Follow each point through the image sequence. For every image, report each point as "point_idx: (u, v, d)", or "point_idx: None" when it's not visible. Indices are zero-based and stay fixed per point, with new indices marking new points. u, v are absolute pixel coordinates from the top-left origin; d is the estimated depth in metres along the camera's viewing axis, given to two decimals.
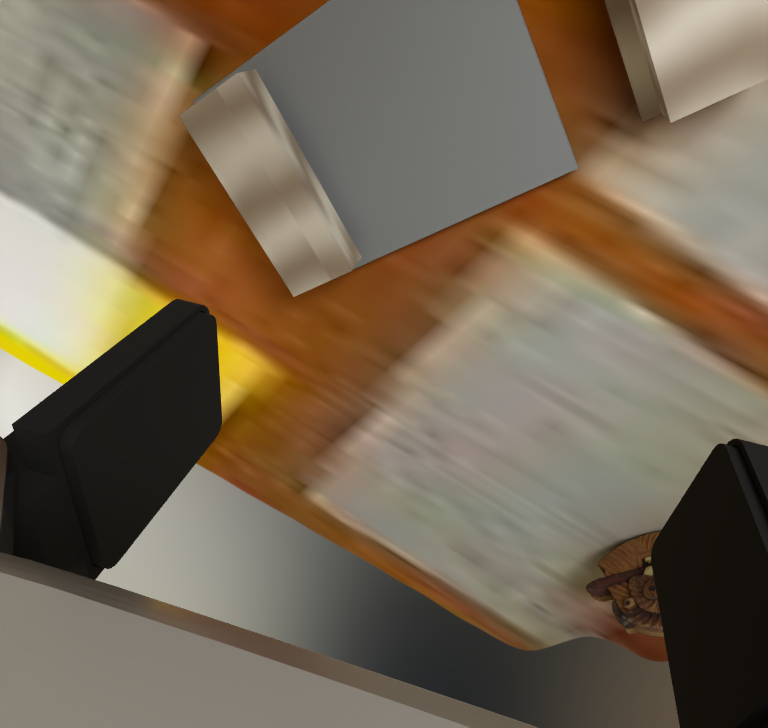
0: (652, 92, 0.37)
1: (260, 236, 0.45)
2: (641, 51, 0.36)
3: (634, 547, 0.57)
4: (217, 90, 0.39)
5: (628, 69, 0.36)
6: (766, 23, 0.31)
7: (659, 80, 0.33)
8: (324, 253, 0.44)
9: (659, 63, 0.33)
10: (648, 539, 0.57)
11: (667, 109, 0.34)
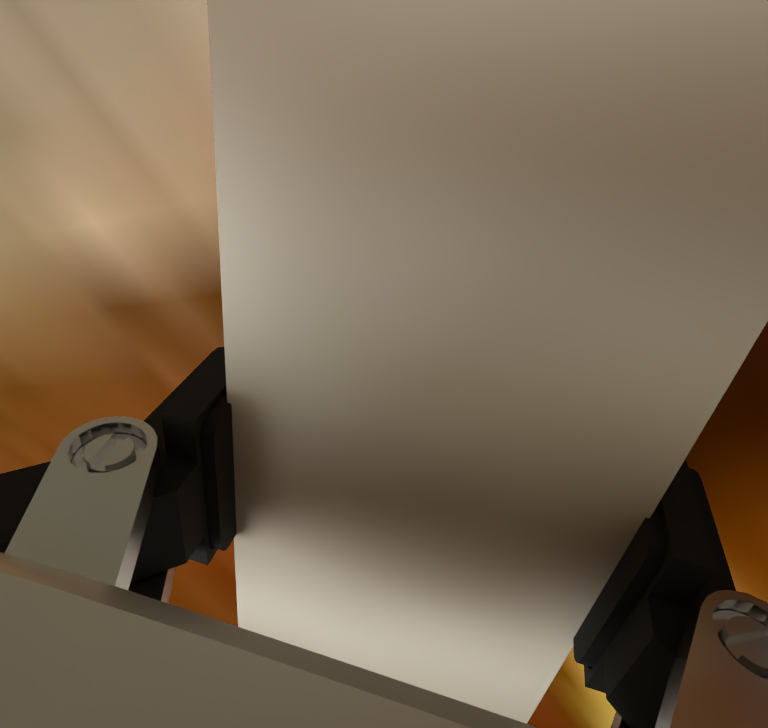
0: None
1: None
2: None
3: None
4: None
5: None
6: (241, 159, 0.06)
7: None
8: None
9: (731, 325, 0.06)
10: None
11: None
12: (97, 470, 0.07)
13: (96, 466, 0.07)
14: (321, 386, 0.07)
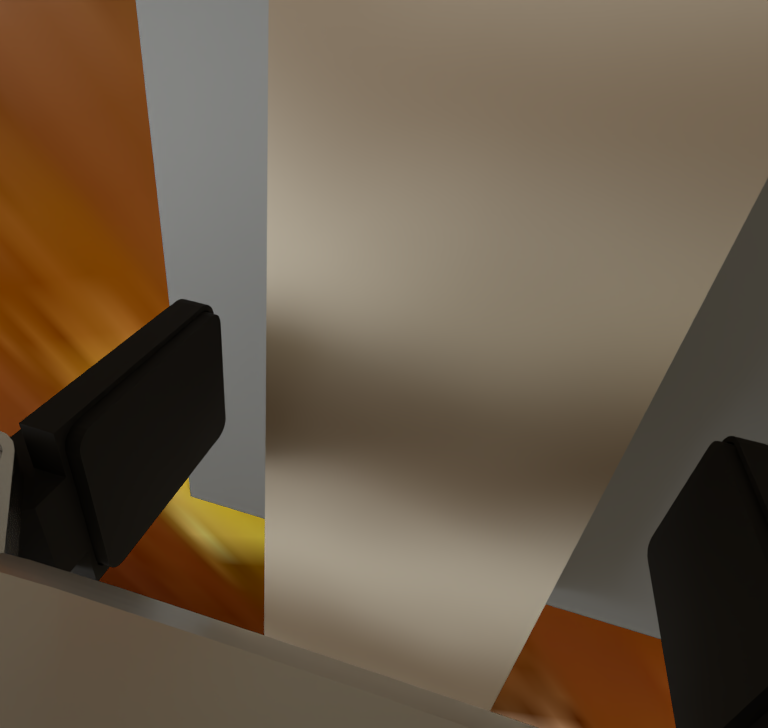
0: None
1: None
2: None
3: None
4: None
5: None
6: (290, 128, 0.07)
7: (750, 198, 0.06)
8: None
9: (695, 266, 0.07)
10: None
11: None
12: None
13: None
14: (350, 328, 0.09)
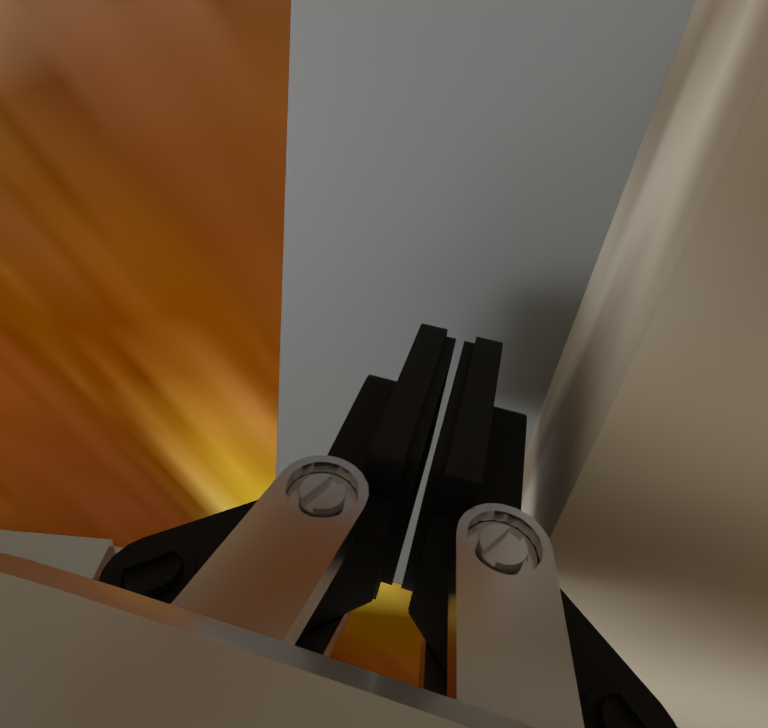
0: None
1: None
2: None
3: None
4: None
5: None
6: (722, 243, 0.06)
7: None
8: None
9: None
10: None
11: None
12: (305, 509, 0.07)
13: (306, 504, 0.07)
14: (708, 457, 0.07)
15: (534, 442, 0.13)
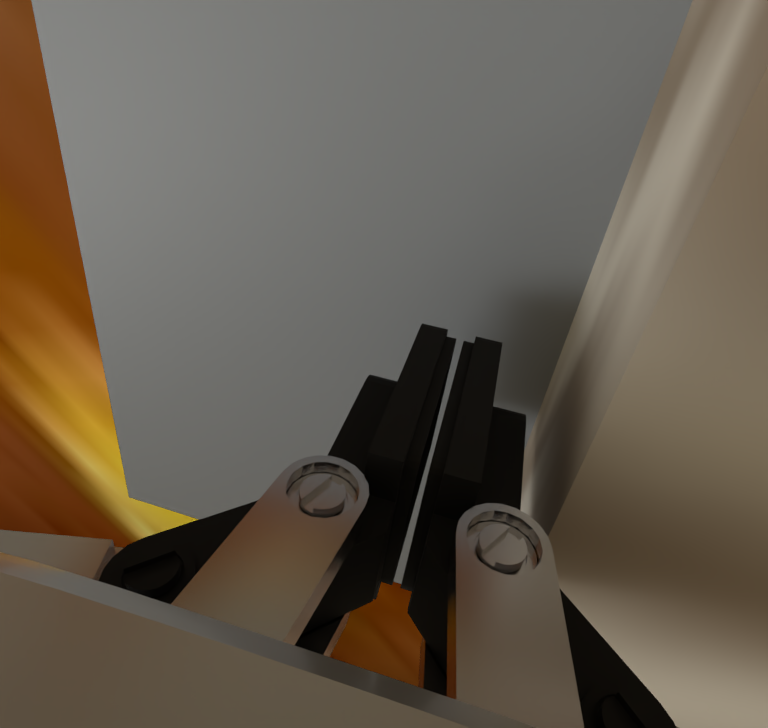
0: None
1: None
2: None
3: None
4: None
5: None
6: (720, 241, 0.06)
7: None
8: None
9: None
10: None
11: None
12: (305, 508, 0.07)
13: (306, 503, 0.07)
14: (707, 457, 0.07)
15: (533, 441, 0.13)
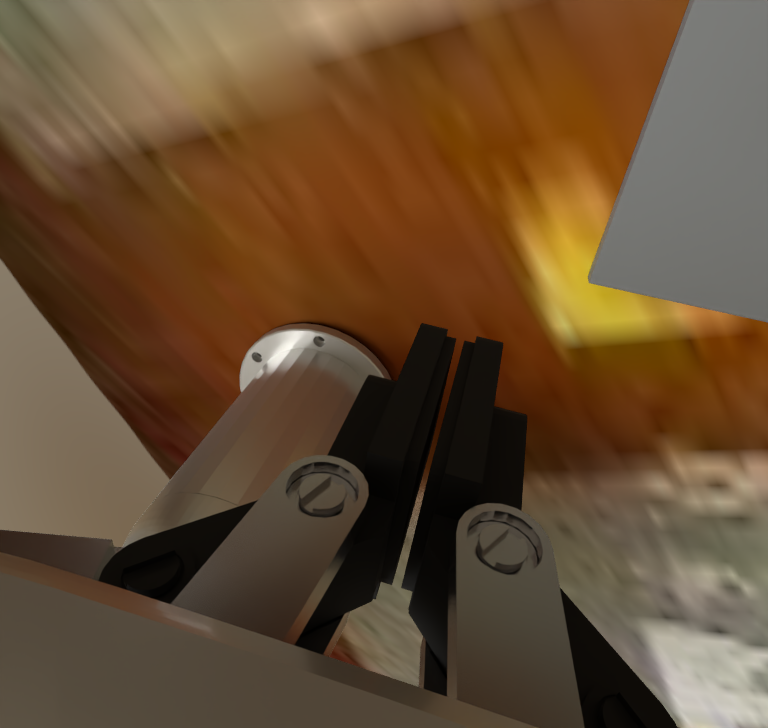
0: None
1: None
2: None
3: None
4: None
5: None
6: None
7: None
8: None
9: None
10: None
11: None
12: (305, 509, 0.07)
13: (306, 504, 0.07)
14: None
15: None
